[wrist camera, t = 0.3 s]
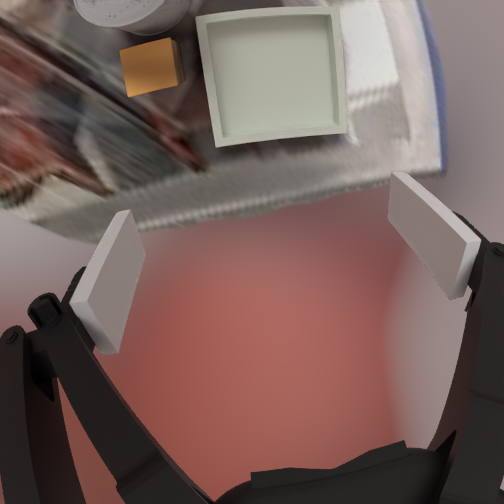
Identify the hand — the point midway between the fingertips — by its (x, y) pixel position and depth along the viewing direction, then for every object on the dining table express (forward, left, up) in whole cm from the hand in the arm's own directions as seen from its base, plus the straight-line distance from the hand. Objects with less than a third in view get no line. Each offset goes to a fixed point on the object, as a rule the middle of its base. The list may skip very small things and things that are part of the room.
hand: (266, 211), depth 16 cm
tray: (-5, +4, -27) cm, 27 cm away
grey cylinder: (-17, -9, -27) cm, 33 cm away
